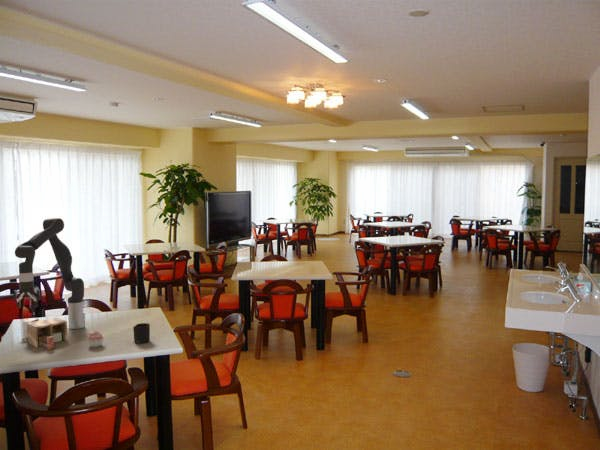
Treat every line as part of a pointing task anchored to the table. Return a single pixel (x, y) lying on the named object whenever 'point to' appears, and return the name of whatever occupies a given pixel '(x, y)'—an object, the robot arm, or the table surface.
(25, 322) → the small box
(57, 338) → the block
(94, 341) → the cupcake
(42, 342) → the tethered block
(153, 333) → the table surface
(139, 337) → the pen holder
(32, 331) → the oak shelf
